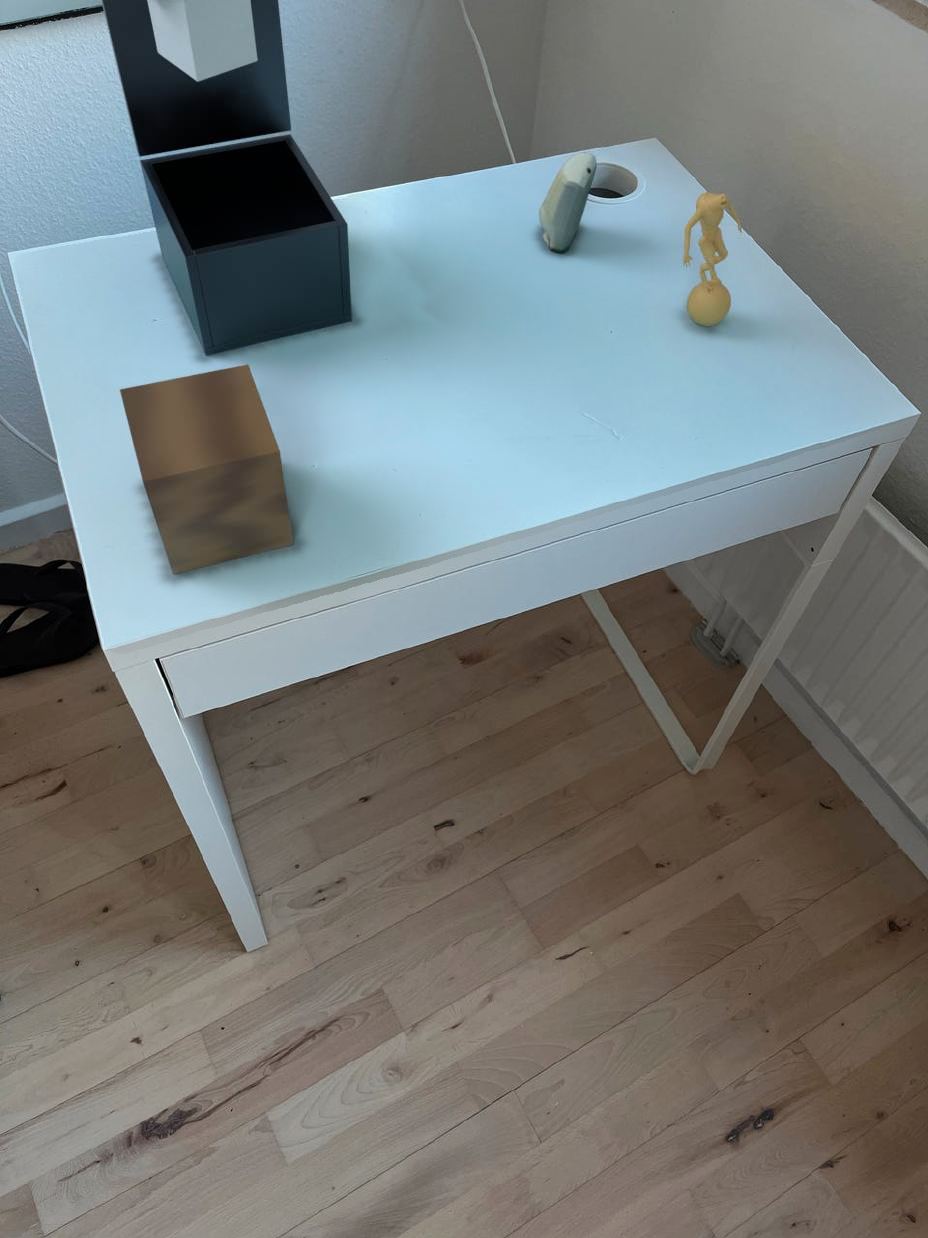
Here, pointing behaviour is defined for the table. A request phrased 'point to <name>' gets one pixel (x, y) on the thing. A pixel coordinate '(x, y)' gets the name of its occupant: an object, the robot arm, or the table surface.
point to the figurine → (709, 260)
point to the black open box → (250, 241)
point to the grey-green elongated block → (567, 201)
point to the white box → (204, 34)
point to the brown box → (209, 467)
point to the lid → (197, 85)
